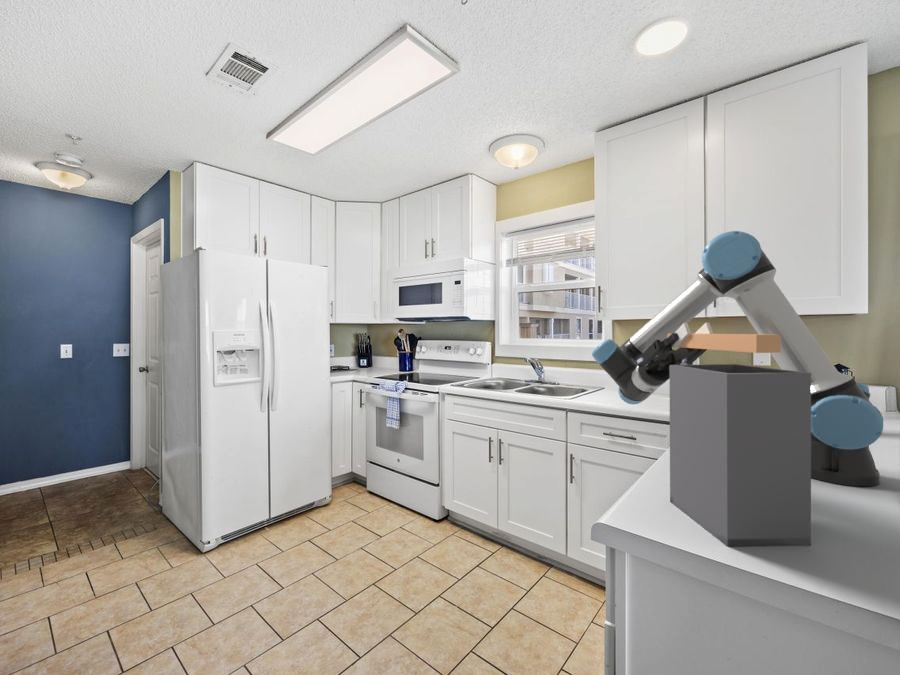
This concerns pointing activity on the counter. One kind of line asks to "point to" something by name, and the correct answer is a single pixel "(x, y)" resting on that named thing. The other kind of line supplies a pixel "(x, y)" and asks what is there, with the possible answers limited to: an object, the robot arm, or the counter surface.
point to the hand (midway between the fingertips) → (698, 328)
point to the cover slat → (734, 342)
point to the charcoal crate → (742, 452)
